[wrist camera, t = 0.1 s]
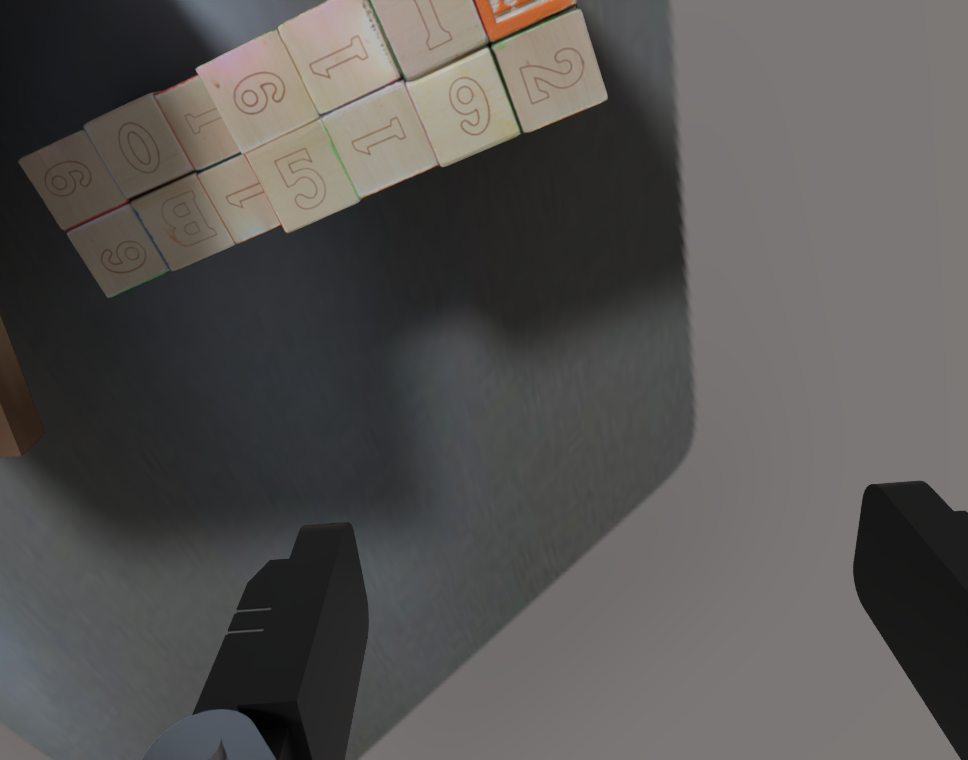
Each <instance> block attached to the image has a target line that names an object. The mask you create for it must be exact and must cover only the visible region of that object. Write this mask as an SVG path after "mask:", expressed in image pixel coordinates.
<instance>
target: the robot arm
mask: <svg viewBox="0 0 968 760" xmlns="http://www.w3.org/2000/svg"><path fill="white" fill-rule="evenodd" d="M853 574H854V582H855V587H856V591H857V594H858V597H859V600H860V602H861V604H862V606H863V607H864V609H865V611H866V612H867V614H868V615H869V617H870V618H871V620H872V621H873V623H874V625H875V626H876V628H877V629H878V631H879V632H880V634H881V635H882V637H883V639H884V640H885V642H886V643H887V645H888V646H889V648H890V650H891V651H892V653H893V654H894V656H895V657H896V659H897V660H898V662H899V664H900V665H901V667H902V668H903V670H904V671H905V673H906V675H907V676H908V678H909V679H910V680H911V682H912V684H913V685H914V687H915V688H916V690H917V692H918V693H919V695H920V696H921V698H922V699H923V701H924V702H925V704H926V706H927V707H928V709H929V710H930V712H931V713H932V715H933V717H934V718H935V720H936V721H937V723H938V724H939V726H940V728H941V729H942V731H943V732H944V734H945V735H946V737H947V738H948V740H949V741H950V743H951V745H952V746H953V747H954V749H955V751H956V752H957V754H958V756H959V757H960V759H961V760H968V513H967V512H966V511H953V510H952V509H951V508H950V507H949V506H948V505H947V504H946V503H945V501H944V500H943V499H941V497H940V496H939V495H938V494H937V493H936V492H935V491H934V490H933V489H932V488H931V487H930V486H929V485H928V484H927V483H925V482H923V481H911V482H910V481H909V482H896V483H883V484H871V485H869V486H868V487H867V488H866V490H865V492H864V495H863V500H862V506H861V514H860V521H859V529H858V536H857V542H856V549H855V557H854V564H853ZM368 627H369V614H368V602H367V595H366V590H365V585H364V580H363V575H362V570H361V565H360V560H359V555H358V550H357V545H356V540H355V535H354V531H353V527H352V525H351V524H350V523H349V522H344V523H331V524H318V525H304V526H302V527H301V529H300V531H299V533H298V536H297V539H296V542H295V544H294V547H293V550H292V553H291V555H290V558H289V559H278V560H269V562H268V563H267V564H266V565H265V566H264V567H263V568H262V569H261V570H260V571H259V572H258V573H257V574H256V575H255V576H254V577H253V578H252V579H251V580H250V581H249V582H248V583H247V586H246V588H245V590H244V593H243V595H242V597H241V600H240V602H239V605H238V607H237V614H234V617H233V619H232V621H231V624H230V626H229V628H228V635H226V636H225V638H224V640H223V643H222V645H221V648H220V650H219V652H218V655H217V657H216V659H215V662H214V664H213V667H212V669H211V671H210V674H209V676H208V679H207V681H206V683H205V686H204V688H203V690H202V693H201V695H200V698H199V700H198V702H197V705H196V707H195V710H194V712H193V714H192V716H190V717H188V718H186V719H183V720H181V721H180V722H178V723H177V724H175V725H173V726H172V727H170V728H169V729H168V730H167V731H165V732H164V733H163V734H162V735H161V736H160V737H159V738H158V739H157V740H156V741H155V742H154V743H153V744H152V745H151V747H150V748H149V749H148V751H147V752H146V754H145V756H144V757H143V759H142V760H345V755H346V750H347V744H348V739H349V734H350V728H351V723H352V718H353V712H354V707H355V702H356V697H357V691H358V686H359V681H360V675H361V670H362V665H363V660H364V654H365V649H366V644H367V638H368Z"/></svg>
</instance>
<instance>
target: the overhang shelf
mask: <svg viewBox="0 0 968 760" xmlns="http://www.w3.org/2000/svg"><path fill="white" fill-rule="evenodd" d="M44 434H45V431H44V428H43V426H42V423H41V421H40V418H39V415H38V413H37V410H36V407H35V405H34V402H33V400H32V397H31V394H30V392H29V389H28V386H27V384H26V381H25V379H24V376H23V373H22V371H21V368H20V365H19V363H18V360H17V358H16V355H15V352H14V350H13V347H12V344H11V342H10V339H9V337H8V334H7V331H6V329H5V326H4V324H3V321H2V318H1V316H0V458H2V457H14V456H22V455H23V454H24V453H25V452H26V451H27V450H28V449H29V448H30V447H31V446H32V445H34V444H35V443H36V442H37V441H38V440H39V439H40V438H41V437H42V436H43V435H44Z"/></svg>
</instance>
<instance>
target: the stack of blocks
mask: <svg viewBox="0 0 968 760" xmlns="http://www.w3.org/2000/svg"><path fill="white" fill-rule="evenodd" d="M576 4H577V0H328V1H326V2H323V3H321V4H319V5H317V6H315V7H313V8H311V9H309V10H307V11H305V12H303V13H301V14H299V15H298V16H296V17H294V18H292V19H290V20H288V21H286V22H284V23H282V24H281V25H280V26H278V27H277V28H276V29H274V30H271V31H268V32H266V33H264V34H262V35H260V36H258V37H256V38H254V39H252V40H250V41H248V42H246V43H244V44H242V45H240V46H239V47H236V48H234V49H232V50H230V51H228V52H226V53H224V54H222V55H220V56H218V57H217V58H215V59H213V60H211V61H209V62H207V63H205V64H203V65H200V66H198V67H197V68H196V69H195V70H196V72H197V73H198V75H195V76H193V77H191V78H189V79H187V80H185V81H183V82H180V83H178V84H176V85H174V86H172V87H169V88H167V89H165V90H163V91H158V92H152V93H149V94H147V95H145V96H142V97H140V98H138V99H136V100H134V101H131V102H129V103H127V104H125V105H122V106H120V107H118V108H116V109H114V110H112V111H110V112H108V113H106V114H104V115H102V116H99V117H97V118H95V119H93V120H91V121H89V122H87V123H85V124H84V126H83V129H82V130H79V131H77V132H75V133H73V134H71V135H68V136H66V137H64V138H62V139H60V140H58V141H56V142H53V143H51V144H49V145H47V146H45V147H43V148H41V149H38V150H36V151H34V152H32V153H30V154H28V155H26V156H23V157H21V158H19V159H18V160H17V161H18V162H19V164H20V166H21V167H22V169H23V170H24V172H25V173H26V175H27V177H28V178H29V180H30V181H31V183H32V184H33V186H34V187H35V189H36V190H37V192H38V194H39V195H40V197H41V198H42V200H43V201H44V203H45V204H46V206H47V208H48V209H49V211H50V212H51V214H52V216H53V217H54V219H55V220H56V222H57V223H58V225H59V227H60V228H61V229H62V230H64V231H66V233H67V235H68V237H69V239H70V241H71V242H72V244H73V246H74V247H75V249H76V250H77V252H78V254H79V255H80V257H81V258H82V260H83V261H84V263H85V264H86V266H87V267H88V269H89V270H90V272H91V273H92V275H93V277H94V278H95V280H96V281H97V283H98V284H99V286H100V287H101V289H102V291H103V292H104V294H105V295H106V296H107V298H112V297H115V296H117V295H119V294H121V293H124V292H126V291H128V290H130V289H133V288H135V287H137V286H139V285H142V284H144V283H147V282H149V281H151V280H154V279H156V278H158V277H160V276H162V275H164V274H166V273H168V272H170V271H173V272H174V271H176V270H179V269H181V268H184V267H186V266H188V265H191V264H193V263H195V262H197V261H200V260H202V259H204V258H207V257H209V256H211V255H214V254H216V253H218V252H221V251H223V250H225V249H227V248H230V247H232V246H234V245H236V244H239V243H242V242H245V241H247V240H249V239H251V238H254V237H256V236H259V235H261V234H263V233H265V232H267V231H269V230H272V229H274V228H276V227H278V226H282V228H283V229H284V231H285V232H286V233H287V234H288V233H291V232H293V231H295V230H297V229H300V228H302V227H304V226H307V225H309V224H311V223H313V222H316V221H318V220H320V219H323V218H325V217H327V216H329V215H331V214H334V213H336V212H338V211H340V210H343V209H345V208H347V207H350V206H352V205H354V204H357V203H359V202H360V201H361V199H362V198H364V197H367V196H369V195H372V194H374V193H377V192H379V191H381V190H384V189H386V188H388V187H391V186H393V185H395V184H397V183H400V182H402V181H404V180H406V179H409V178H411V177H414V176H416V175H418V174H421V173H423V172H425V171H427V170H430V169H432V168H434V167H436V166H439V167H446V166H449V165H451V164H453V163H456V162H458V161H461V160H463V159H465V158H468V157H470V156H472V155H474V154H477V153H479V152H481V151H484V150H486V149H488V148H491V147H493V146H496V145H498V144H501V143H503V142H506V141H508V140H510V139H513V138H515V137H517V136H518V135H520V134H521V133H529V132H533V131H535V130H537V129H540V128H542V127H545V126H547V125H550V124H552V123H554V122H557V121H559V120H562V119H564V118H567V117H569V116H572V115H574V114H577V113H579V112H582V111H584V110H586V109H589V108H591V107H594V106H596V105H598V104H601V103H603V102H604V101H606V100H607V99H608V95H607V92H606V89H605V86H604V82H603V79H602V76H601V73H600V70H599V66H598V63H597V60H596V56H595V53H594V50H593V47H592V43H591V40H590V37H589V33H588V30H587V27H586V23H585V20H584V17H583V14H582V11H581V9H579V8H577V5H576Z"/></svg>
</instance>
